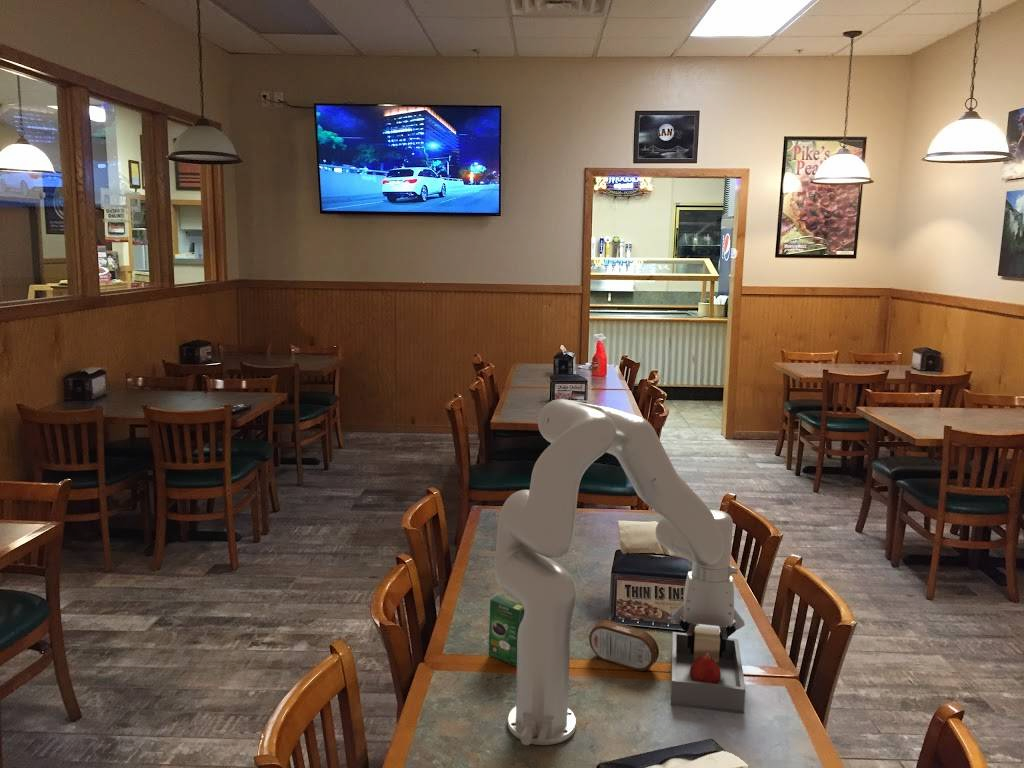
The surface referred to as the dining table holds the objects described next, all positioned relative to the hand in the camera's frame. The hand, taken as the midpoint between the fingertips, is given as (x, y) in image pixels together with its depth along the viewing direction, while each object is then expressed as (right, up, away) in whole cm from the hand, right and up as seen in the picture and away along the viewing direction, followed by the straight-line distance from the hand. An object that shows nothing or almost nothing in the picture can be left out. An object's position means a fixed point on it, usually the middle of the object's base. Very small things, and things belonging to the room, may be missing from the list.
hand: (705, 651), depth 166 cm
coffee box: (-42, -3, +3) cm, 42 cm away
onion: (-2, -5, -9) cm, 10 cm away
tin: (-17, -3, +2) cm, 18 cm away
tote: (-1, -5, -4) cm, 6 cm away
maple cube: (0, -1, 0) cm, 1 cm away
